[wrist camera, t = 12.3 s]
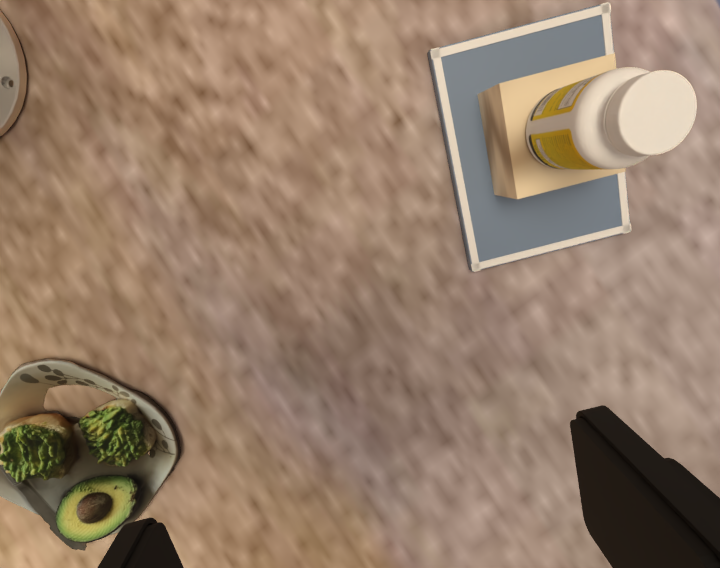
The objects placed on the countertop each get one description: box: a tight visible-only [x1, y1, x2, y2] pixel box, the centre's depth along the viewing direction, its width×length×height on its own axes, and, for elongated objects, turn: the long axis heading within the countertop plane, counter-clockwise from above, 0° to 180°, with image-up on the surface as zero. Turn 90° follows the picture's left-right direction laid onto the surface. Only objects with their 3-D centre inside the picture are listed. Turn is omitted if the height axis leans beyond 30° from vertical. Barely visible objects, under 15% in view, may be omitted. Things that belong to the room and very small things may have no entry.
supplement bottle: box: [526, 67, 697, 170], centre depth 27 cm, size 5×5×10 cm
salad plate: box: [0, 359, 181, 550], centre depth 41 cm, size 19×18×5 cm
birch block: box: [477, 53, 626, 199], centre depth 34 cm, size 8×8×5 cm
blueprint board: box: [427, 2, 631, 272], centre depth 37 cm, size 18×14×1 cm
